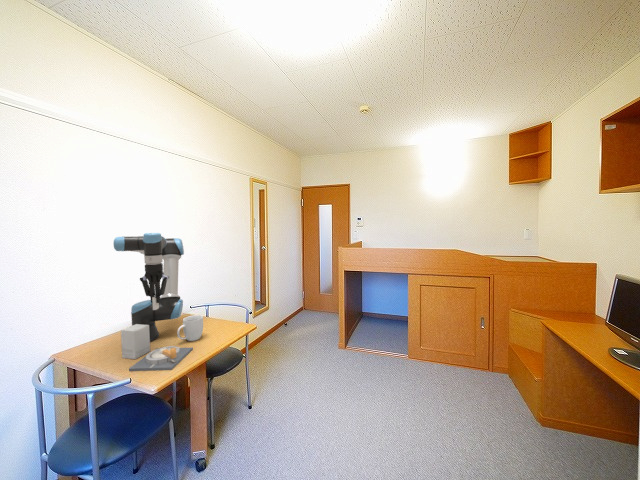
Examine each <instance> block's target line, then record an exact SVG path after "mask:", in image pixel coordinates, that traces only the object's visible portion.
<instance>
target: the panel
mask: <svg viewBox="0 0 640 480" xmlns="http://www.w3.org/2000/svg"><path fill="white" fill-rule="evenodd" d="M161 348H176V358H173V359H171V358H170V357H168V356H167V357H163V358H152V357H151V355H152V354H153V353H154V352H156V351H158V350H160V349H161ZM192 351H194V349H193V346H192V347H191V346H190V347H179V346H175V345H168V346H163V347H160V348H158V347H157V348H155V349H153V350H152V351H151V350H150V352H148V353H146V354H145V355H146V356H144V357H142V358H141V359H140V360H139V361H137V362H135V363H134V364H132V366H130V367H129V368H128V372H140V371H142V372H145V371H172V370H173V369H174V368H175V367H176V366H177V365H179V364H180V362H182V361H183V360H184V359H185V358H186V356H188V355H189V354H190V353H191V352H192Z"/></svg>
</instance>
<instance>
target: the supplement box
mask: <svg viewBox="0 0 640 480" xmlns="http://www.w3.org/2000/svg"><path fill="white" fill-rule="evenodd" d="M120 338H121V339H120V340H121V355H122V359H131V360H136V359H138V358H140V357H142V356H144V355H147V354H149V353H150V352H151V342H150V334H149V325H142V324H135V325H133V326H132V325H130V326H128V327H124V328H122V329H121V330H120Z"/></svg>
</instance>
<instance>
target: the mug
mask: <svg viewBox="0 0 640 480" xmlns="http://www.w3.org/2000/svg"><path fill="white" fill-rule="evenodd" d="M203 316H204V315H202V314H201V315H200V314H194V315H193V314H192V315H189V316H186V317H184V318H183V319H182V325H180V326H179V327H178V328H177V332H176V334H177V338H179V339H180V340H187V342H195V341H198V340H199V339H200V338H201V337H202V334H203V330H204V317H203ZM182 328H183V329H182ZM181 329H182V331H183V335H184V337H181V335H180V331H181Z"/></svg>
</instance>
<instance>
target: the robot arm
mask: <svg viewBox="0 0 640 480" xmlns="http://www.w3.org/2000/svg"><path fill="white" fill-rule="evenodd" d="M113 249H114V251H116V252H137V253H140V254H142V255H144V258H143V259H144V260H143V261H144V272H145V273H144V276H142V277H140V278H139V281H140V282H141V284H142V287H143V290H144V293H145V296H146V297H150V299H147V300H142V301H139V302H136V303H134V304H133V305H132V306H131V309H130V310H131V312H130V315H131V316H130V317H131V326H133V325H135V324H142V325H149V334H150V343H152V342H154V341H155V340H157V339H159V337H160V331H159V329H158V327H157V325H156V322H159V321H167V320H174V319H178V318H180V317H181V315H182V312H183V307H184V306H183V305H184V300H183V299H182V298H181V296H180V295H179V294H178V293H179V264H180V263H179V260H180V259H182V256H184V254H185V250H184V245H183V240H182V239H181V238H172V237H171V238H166V237H164V236H162V233H160V232H147V233H146V232H145V233H144V234H143V235H142V236H141V235H138V236H117V237H115V238H114V239H113ZM161 280H162V281H161Z"/></svg>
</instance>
